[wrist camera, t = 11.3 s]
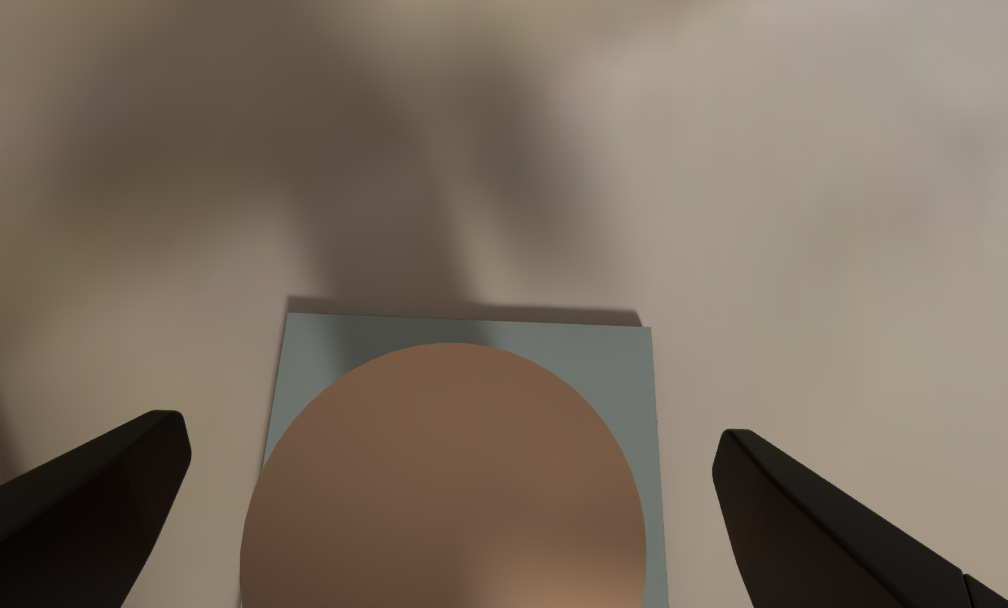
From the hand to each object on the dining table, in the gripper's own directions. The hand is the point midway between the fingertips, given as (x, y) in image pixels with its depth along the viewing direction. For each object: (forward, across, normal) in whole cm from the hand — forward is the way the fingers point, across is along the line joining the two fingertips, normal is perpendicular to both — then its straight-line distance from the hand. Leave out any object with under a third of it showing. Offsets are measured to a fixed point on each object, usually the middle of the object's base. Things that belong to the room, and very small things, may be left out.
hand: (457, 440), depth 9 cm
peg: (+5, 0, +7) cm, 8 cm away
